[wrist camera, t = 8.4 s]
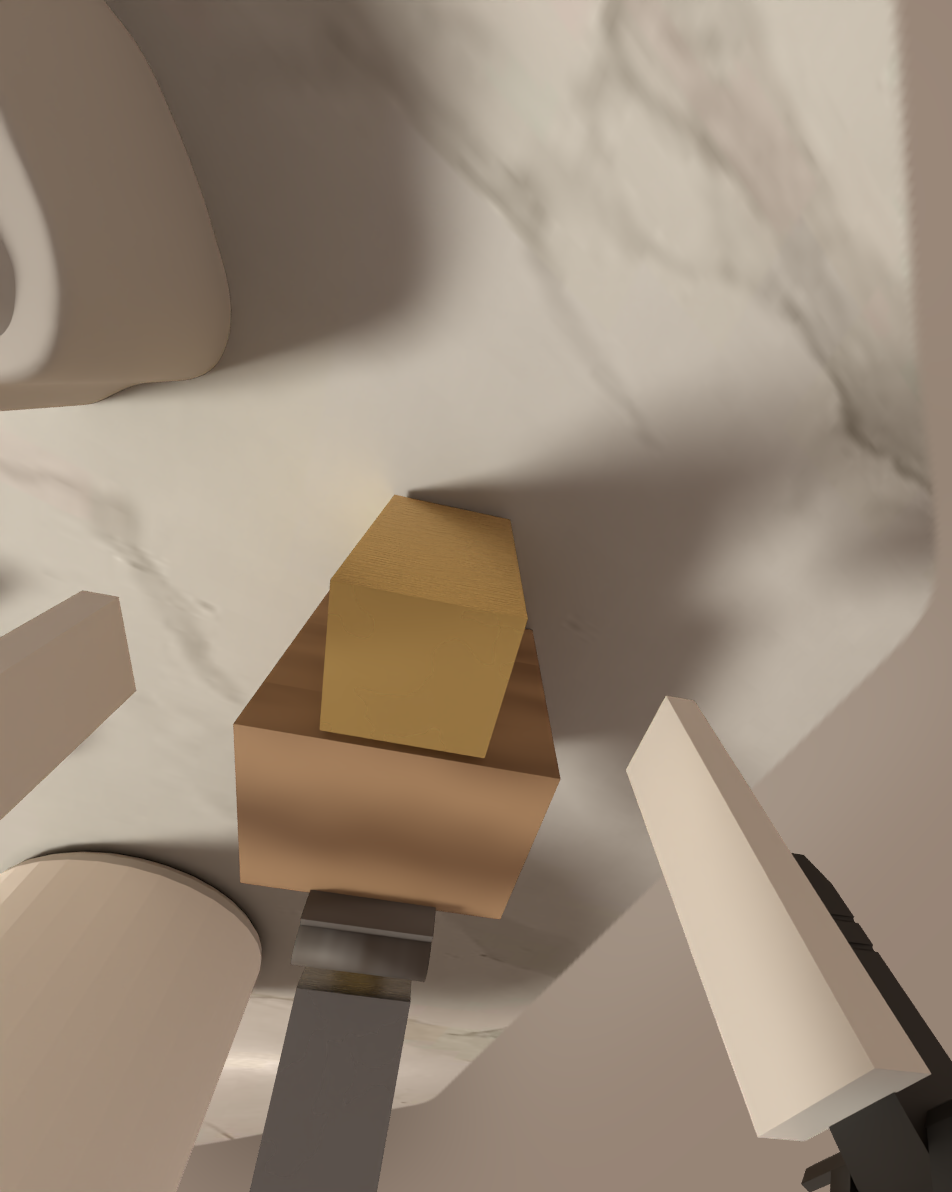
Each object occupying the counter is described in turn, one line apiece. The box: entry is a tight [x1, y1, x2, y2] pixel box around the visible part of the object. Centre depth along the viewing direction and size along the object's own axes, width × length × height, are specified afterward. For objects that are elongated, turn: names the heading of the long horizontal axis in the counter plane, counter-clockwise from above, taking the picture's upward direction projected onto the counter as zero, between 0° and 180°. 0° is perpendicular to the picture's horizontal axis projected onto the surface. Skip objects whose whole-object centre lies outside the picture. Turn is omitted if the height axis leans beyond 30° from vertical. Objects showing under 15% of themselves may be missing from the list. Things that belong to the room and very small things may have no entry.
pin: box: [319, 495, 528, 758], centre depth 19 cm, size 19×5×9 cm, turn 168°
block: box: [233, 590, 560, 982], centre depth 19 cm, size 10×10×11 cm
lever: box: [250, 967, 411, 1192], centre depth 15 cm, size 8×4×1 cm
